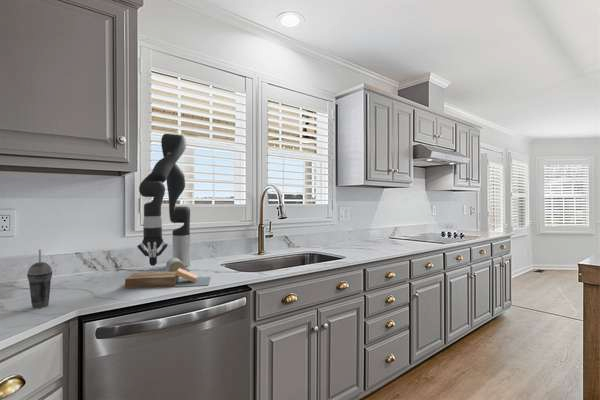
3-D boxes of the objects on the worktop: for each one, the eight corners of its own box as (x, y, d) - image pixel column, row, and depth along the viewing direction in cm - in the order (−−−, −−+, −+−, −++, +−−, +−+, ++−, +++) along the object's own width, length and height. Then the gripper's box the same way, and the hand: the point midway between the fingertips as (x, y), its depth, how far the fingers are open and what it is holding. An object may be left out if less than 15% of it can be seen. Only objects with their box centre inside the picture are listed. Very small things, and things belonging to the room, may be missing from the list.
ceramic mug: (170, 276, 169) (170, 260, 169) (165, 273, 175) (165, 258, 175) (192, 274, 175) (192, 258, 175) (186, 271, 182) (186, 256, 182)
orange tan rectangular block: (177, 271, 159) (179, 267, 159) (195, 279, 161) (197, 275, 161) (175, 274, 153) (177, 270, 153) (194, 282, 155) (196, 278, 155)
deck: (133, 281, 158) (133, 273, 158) (179, 279, 162) (179, 271, 162) (125, 288, 146) (125, 279, 146) (175, 286, 150) (175, 276, 150)
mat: (180, 278, 164) (180, 278, 164) (210, 277, 167) (210, 276, 167) (174, 287, 148) (174, 286, 148) (208, 285, 151) (208, 284, 151)
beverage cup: (26, 311, 118) (26, 252, 117) (27, 306, 123) (27, 249, 123) (53, 307, 122) (52, 250, 122) (52, 302, 128) (52, 247, 128)
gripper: (170, 225, 159) (170, 263, 159) (139, 225, 156) (139, 264, 157) (166, 226, 152) (167, 266, 152) (134, 227, 149) (134, 267, 149)
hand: (153, 265), depth 154 cm, fingers closed
